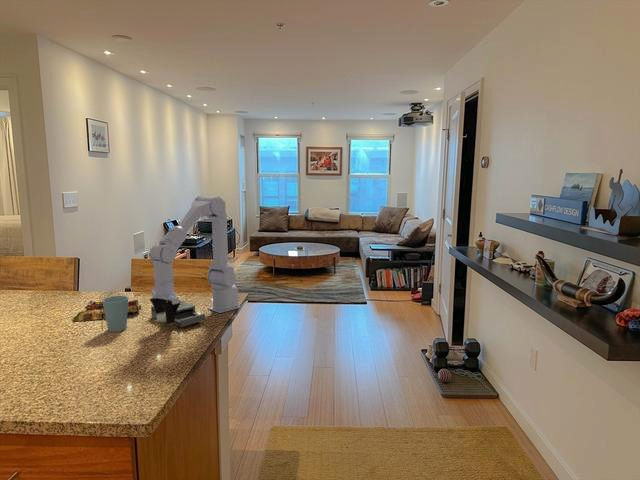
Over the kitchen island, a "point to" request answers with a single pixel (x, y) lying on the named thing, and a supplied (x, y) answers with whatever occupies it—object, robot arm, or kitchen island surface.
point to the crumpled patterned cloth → (101, 311)
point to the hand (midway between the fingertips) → (166, 320)
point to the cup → (116, 312)
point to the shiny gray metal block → (182, 308)
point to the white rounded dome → (161, 317)
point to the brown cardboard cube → (166, 327)
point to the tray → (188, 318)
